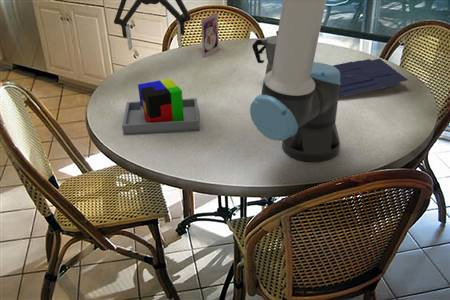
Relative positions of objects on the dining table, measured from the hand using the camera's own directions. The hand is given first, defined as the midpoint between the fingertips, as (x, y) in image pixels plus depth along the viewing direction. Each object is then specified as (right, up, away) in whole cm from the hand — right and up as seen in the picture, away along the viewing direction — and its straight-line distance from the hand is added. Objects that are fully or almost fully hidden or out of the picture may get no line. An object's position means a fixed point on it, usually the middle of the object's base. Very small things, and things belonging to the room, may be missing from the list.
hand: (155, 47), depth 134 cm
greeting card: (+11, +11, +62) cm, 64 cm away
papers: (+63, -6, +33) cm, 71 cm away
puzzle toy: (+1, -19, +12) cm, 22 cm away
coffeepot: (+36, -5, +35) cm, 50 cm away
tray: (0, -19, +12) cm, 23 cm away
